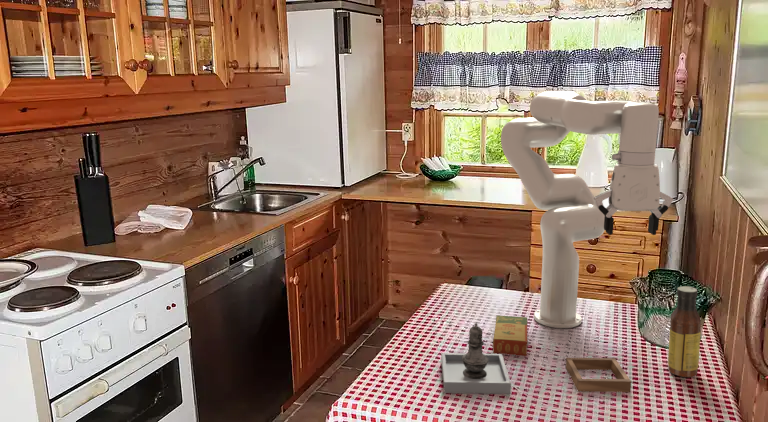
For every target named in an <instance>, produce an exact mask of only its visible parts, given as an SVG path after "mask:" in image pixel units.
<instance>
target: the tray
mask: <svg viewBox="0 0 768 422" xmlns="http://www.w3.org/2000/svg"><path fill="white" fill-rule="evenodd" d="M467 353H468V352H467ZM467 353H465V352H464V353H462V352H457V353H456V352H454V353H453V352H444V353H443V352H441V355H440V357H441V359H440V361H441V374H442V381H443V383H442V384H443V385H442V386H443V394H484V395H485V394H486V395H489V394H490V395H492V394H495V395H496V394H498V395H499V394H500V395H502V394H503V395H511V393H512V392H511V389H512V387H511V386H512V383H511V378H510V375H509V373H508V370H507V366H506V364H505V360H504V357H503V354H497V353H483V355H485V356H487V357H488V359H489V361H488V362H487V365H486V367H485V368H484V369H483V370H485V371H486V372H487V375H486V377H484V378H481V379H471V378H468V377H466V376H464V374H463V371H464V370H465V369H466V367H465V366H464V363H463V360H462V356H463V355H465V354H467Z"/></svg>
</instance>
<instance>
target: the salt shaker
mask: <svg viewBox="0 0 768 422" xmlns="http://www.w3.org/2000/svg"><path fill="white" fill-rule="evenodd" d="M468 334H469V335H468V337H469V339H468V341H467V344H468V352H467V354H465V355H463V356H462V360H463V363H464V366H465V367H466V369H465V370H464V371H463V374H464V376H466V377H468V378H471V379H481V378H484V377H486V375H487V372H486V371H485V370H483V369H484V368H485V367H486V365H487V362H488V361H489V359H488V357H487V356H485V355H483V354H484V353H483V345H485V344H484V343H485V342H484V341H483V329H482V328H481V327H479V326H478V323H477V322H475V323H474V326H470V328H469V333H468Z"/></svg>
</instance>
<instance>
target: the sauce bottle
mask: <svg viewBox="0 0 768 422" xmlns="http://www.w3.org/2000/svg"><path fill="white" fill-rule="evenodd" d="M676 295H677V300H676V301H677V303H676V308H675V309H674V310H673V311H672V313H671V314H670V327H669V338H668V353H667V354H668V355H667V368H668V370H669V372H670V373H671V374H672V375H674V376H677V377H680V378H694V377H696V376H697V375H698V372H699V371H698V369H699V367H700V366H699V363H700V347H701V346H700V345H701V321H702V320H701V317H700V315H699V312H698V309H697V297H698V289H697V288H696V287H691V286H689V285H688V286H679V287H677V290H676Z"/></svg>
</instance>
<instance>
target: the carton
mask: <svg viewBox="0 0 768 422" xmlns="http://www.w3.org/2000/svg"><path fill="white" fill-rule="evenodd" d="M492 339H493V340H492V354H497V353H499V354H502V355H508V354H509V356H520V357H521V356H522V357H527V355H528V353H527V352H528V317H527V316H514V315H513V316H512V315H501V314H500V315H496V316H495V326H494V333H493V338H492Z"/></svg>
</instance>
